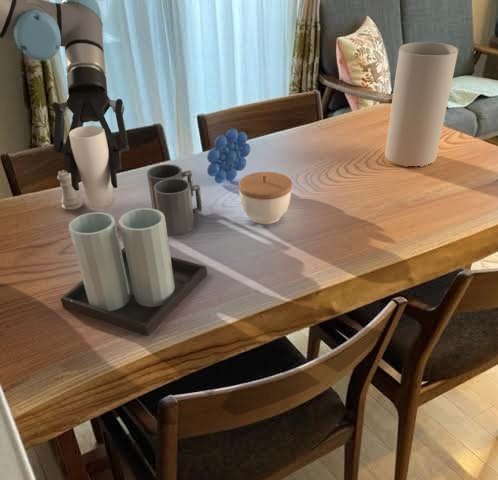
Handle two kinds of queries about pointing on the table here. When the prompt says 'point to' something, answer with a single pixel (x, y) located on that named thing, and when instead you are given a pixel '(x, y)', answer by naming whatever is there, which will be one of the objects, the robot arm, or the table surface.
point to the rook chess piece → (68, 192)
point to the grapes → (228, 156)
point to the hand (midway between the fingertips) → (94, 186)
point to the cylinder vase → (419, 102)
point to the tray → (132, 312)
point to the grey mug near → (177, 204)
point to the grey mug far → (165, 177)
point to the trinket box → (265, 196)
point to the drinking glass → (93, 164)
